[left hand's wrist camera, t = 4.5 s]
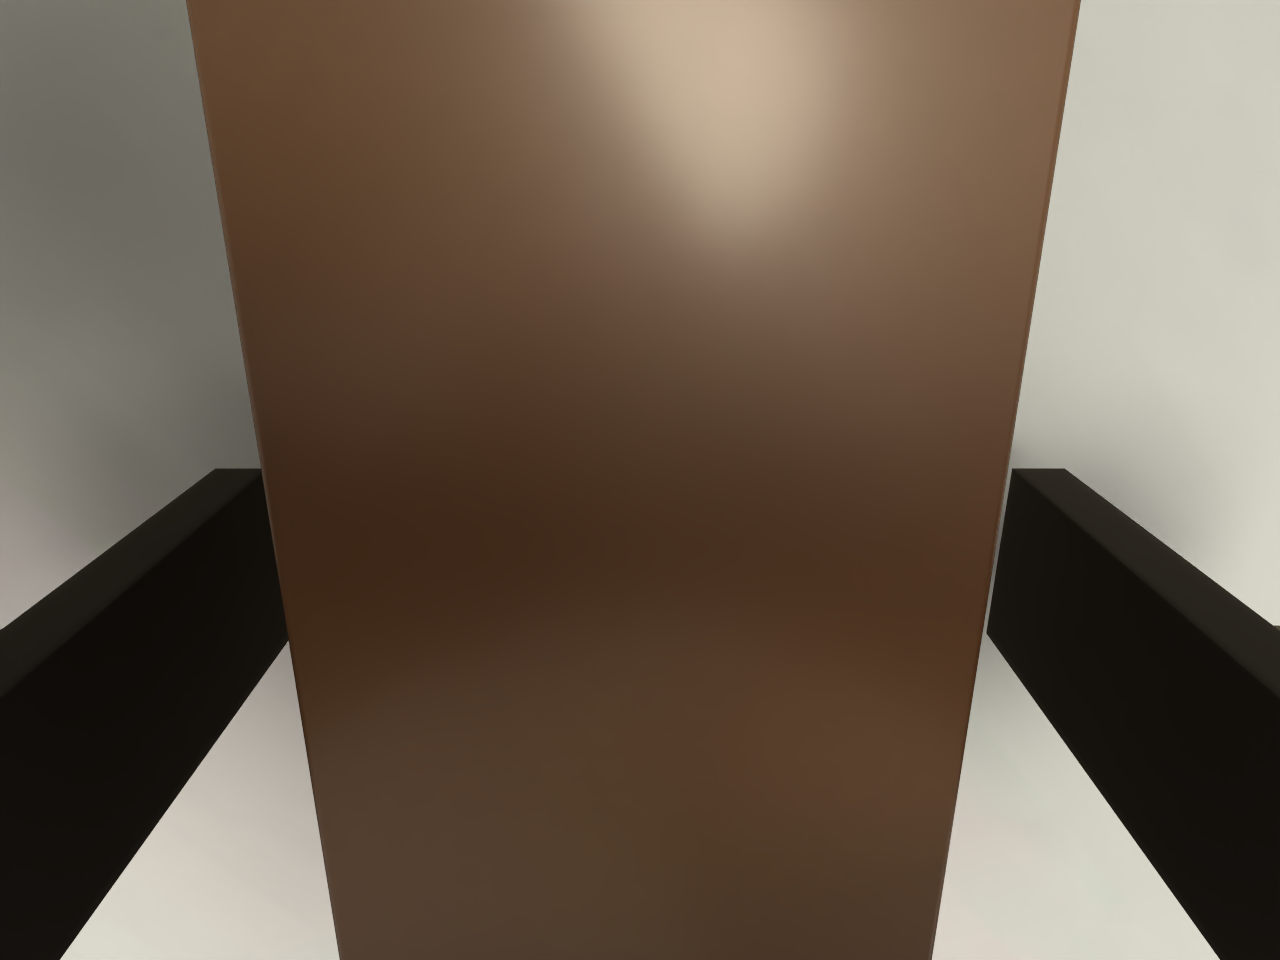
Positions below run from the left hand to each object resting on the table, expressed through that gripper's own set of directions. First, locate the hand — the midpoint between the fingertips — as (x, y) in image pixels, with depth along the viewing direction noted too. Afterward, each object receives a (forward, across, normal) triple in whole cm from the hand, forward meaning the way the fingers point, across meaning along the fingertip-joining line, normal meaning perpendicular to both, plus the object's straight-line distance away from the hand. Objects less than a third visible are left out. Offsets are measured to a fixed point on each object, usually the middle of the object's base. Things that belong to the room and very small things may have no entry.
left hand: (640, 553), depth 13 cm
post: (+2, 0, -32) cm, 32 cm away
